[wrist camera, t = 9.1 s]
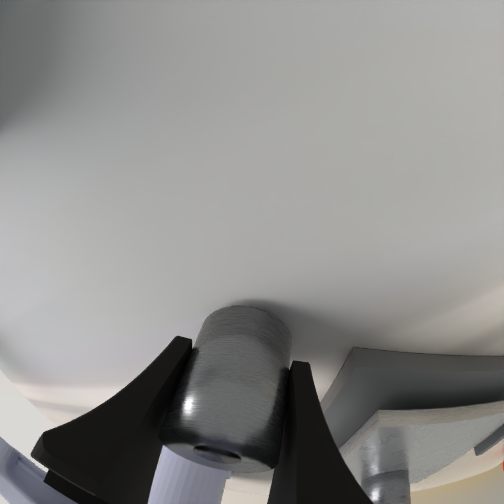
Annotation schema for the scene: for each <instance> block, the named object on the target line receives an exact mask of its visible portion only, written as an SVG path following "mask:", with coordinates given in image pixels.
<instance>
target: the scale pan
mask: <svg viewBox="0 0 504 504" xmlns="http://www.w3.org/2000/svg"><path fill="white" fill-rule="evenodd" d="M503 424H504V400H503V401H498V402H492V403H485V404H478V405H470V406H462V407H451V408H438V409H419V410H378V411H377V412H376V413H375V414H374V415H373V416H372V417H371V418H370V419H369V420H368V421H367V422H366V423H365V424H364V425H363V426H362V427H361V428H360V429H359V430H358V431H357V432H356V433H355V434H354V435H353V436H352V437H351V438H350V439H349V440H348V441H347V442H346V443H345V444H344V445H343V446H342V447H340V448H339V449H338V450H339V452H340V453H341V455H342V457H343V459H344V461H345V463H346V464H347V466H348V468H349V469H350V471H351V472H352V474H353V476H354V477H355V479H356V480H357V482H358V483H359V485H360V486H361V481H362V480H364V479H366V478H369V477H372V476H375V475H379V474H383V473H388V472H394V471H408V472H409V482H410V484H411V483H417V482H419V481H421V480H423V479H424V478H426V477H428V476H430V475H432V474H433V473H435V472H437V471H438V470H440V469H442V468H443V467H445V466H447V465H448V464H450V463H452V462H453V461H455V460H456V459H458V458H459V457H461V456H462V455H464V454H465V453H467V452H468V451H469V450H471V449H472V448H474V447H475V446H476V445H478V444H479V443H480V442H482V441H483V440H484V439H486V438H487V437H488V436H489V435H491V434H492V433H493V432H494V431H496V430H497V429H498V428H499V427H500V426H502V425H503Z"/></svg>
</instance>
